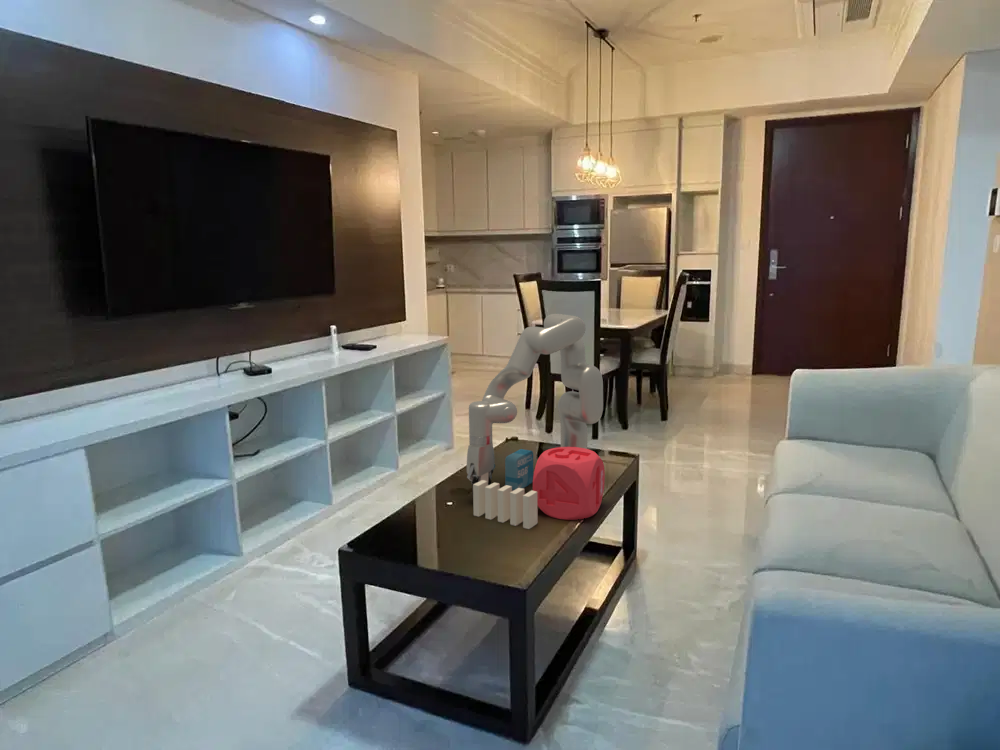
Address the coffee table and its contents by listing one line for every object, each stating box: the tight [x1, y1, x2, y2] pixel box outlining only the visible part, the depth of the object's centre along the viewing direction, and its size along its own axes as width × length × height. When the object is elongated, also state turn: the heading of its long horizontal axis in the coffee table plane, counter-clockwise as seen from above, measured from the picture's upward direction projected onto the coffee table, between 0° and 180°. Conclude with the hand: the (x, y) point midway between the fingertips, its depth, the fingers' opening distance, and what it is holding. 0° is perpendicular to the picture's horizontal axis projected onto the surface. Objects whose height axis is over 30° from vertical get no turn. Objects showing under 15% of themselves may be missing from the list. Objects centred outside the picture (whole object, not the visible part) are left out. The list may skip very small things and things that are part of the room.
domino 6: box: [522, 490, 539, 530], centre depth 197 cm, size 2×5×10 cm, turn 147°
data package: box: [504, 448, 534, 491], centre depth 231 cm, size 12×4×12 cm, turn 148°
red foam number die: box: [532, 446, 606, 521], centre depth 209 cm, size 18×18×18 cm
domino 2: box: [472, 480, 488, 517], centre depth 207 cm, size 2×5×10 cm, turn 147°
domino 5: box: [509, 488, 526, 527], centre depth 200 cm, size 2×5×10 cm, turn 147°
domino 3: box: [484, 482, 501, 521], centre depth 204 cm, size 2×5×10 cm, turn 147°
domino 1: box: [475, 472, 489, 481], centre depth 219 cm, size 2×5×10 cm, turn 147°
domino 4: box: [497, 485, 513, 523], centre depth 202 cm, size 2×5×10 cm, turn 147°
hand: (481, 492), depth 219 cm, fingers closed on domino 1, 4 cm apart
